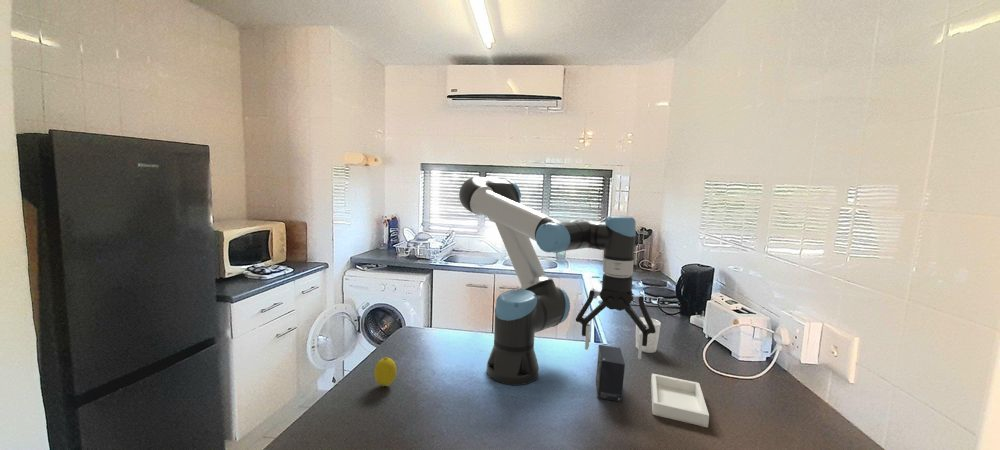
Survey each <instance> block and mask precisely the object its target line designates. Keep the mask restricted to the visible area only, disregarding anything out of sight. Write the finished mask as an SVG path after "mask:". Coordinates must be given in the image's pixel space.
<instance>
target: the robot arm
mask: <svg viewBox="0 0 1000 450" xmlns="http://www.w3.org/2000/svg"><path fill="white" fill-rule="evenodd" d="M458 196H459V198H458V199H459V202H460V204H461V205H462V206H463V207H464V209H466V210H467V211H469V212H470V213H472V214H475V216H476V215H477V216H486V217H487V218H488V220H489V221H490V222H492V223H494V224H495V226H496V227H497V230H498V233H499V236H500V238H501V239H502V243H503V244H504V247H505V249H506V252H507V254H508V257H509V259H510V261H511V265H512V267H513V269H514V271H515V274H516V276H517V279H518V282H519V284H520V288H518V289H510V290H506V291H504V292H501V293H500V294H499V295H498V296H497V298H496V302H495V307H494V329H493V330H494V334H493V335H494V336H493V346H492V349H491V352H490V354H489V357H488V360H487V362H486V374H487V373H488V374H487V376H488V377H489V376H490V377H489V378H491V379H492V380H494V381H495V382H498V383H500V384H503V385H504V384H505V385H509V386H510V385H511V386H522V385H526V384H531V383H532V382H534V381H536V380H537V379H538V377H539V367H540V366H539V362H538V358H537V355H536V351H535V335H536V334H535V333H539V332H541V331H544V330H547V329H550V328H554V327H556V326H559V325H560V324H561V323H564V322H565V320H567V318H568V317H569V314H570V310H571V302H570V298H569V295H568V293H567V292H566V291H565V290H564V289H562V288H561V287H559V286H556V284H555V282H554V279H553V278H552V277H550V276H547V275H546V273H545V271H544V269H543V266H542V264H541V262H540V260H539V257H538V254H537V253H536V250H535V248H534V246H533V244H532V240H533V241H535V242H536V245H537V246H538V247H539V249H540V250H542V252H546V253H555V254H557V253H562V252H568V251H575V250H579V249H580V250H581V249H593V250H600V251H603V265H602V266H603V267H602V271H603V274H602V282H601V283H602V284H601V290H596V289H595V288H591V289H590V291H589V294H588V298H587V300H586V301H585V302H584V305H583V306H582V307H581V309H580V310H579V312H578V314H577V316H576V317H575V321H576V322H577V323H580V324H581V336H582V337H585V343H584V349H585V350H587V351H588V350H589V347H590V336H591V333H590V332H591V323H590V322H591V321H592V320H593V319H594V318H595V317H596V316H598V315H599V313H600V312H602V311H603V310H604V309H605V308H607V309H609V310H616V311H619V312H621V311H623V310H624V311H625V312H626V313H627V314H628V315H629V317H630V318H631V319H632V320H633V322H634V324H635V326H636V325H637V326H638V327H639V329H640V330H641V331H640V334H639V349H637V350H638V351H637V359H638V360H642V353H643V351H642V346H646V345H647V336H648V334H650V333H655V332H656V331H655V326H654V324H653V322H652V320H651V316H650V312H649V310H648V309H647V307H646V304H645V297H644V294H642V293H641V294H639V295H633V293H632V291H633V277H632V276H633V273H634V262H635V261H634V254H635V243H636V236H637V233H636V220H635V218H633V217H631V216H626V215H625V216H624V215H620V216H619V215H608V216H607V217H606V218H605V222H603V221H602V222H601V221H592V220H590V221H589V220H584V219H571V220H569V221H562V220H558V219H556V218H553V217H551V216H550V215H547V214H545V213H542V212H540V211H537V210H535V209H533V208H531V207H528V206H526V205H524V204H522V203H521V197H522V193H521V189H520V188H519V186H518V184H517V183H516V182H514V181H513V180H511V179H508V178H505V177H487V176H485V177H484V176H474V177H473V176H472V177H470V178H468V179H467V180H465V181H464V182H463V183H462V184H461V186H460V188H459V194H458ZM598 297H600V299H601V300H602V301H601V302H600V303H598V304H599V305H597V306H596V307H595V308H594V309H593V310H592V311H591V312H590V313H588V315H586V316H585V317H584V315H585V314H586V312H587V311H588V309H589V307H590V305H591V304H592V302H593V300H594V299H595V300H596V299H597V298H598ZM633 301H634V302H635V304H637V305H638V306H639V308H640V311H641V313H642V316H643V317H644V318H645V320H646V322H647V325H648V327H646V326H645V325H644V323H643V322H642V321H641V320H640V318H639V317H640V316H639V315H638V314H637V313H636V311H635V310H634V308H633V307H632V306H631V305H630V304H631V303H632V302H633Z"/></svg>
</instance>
